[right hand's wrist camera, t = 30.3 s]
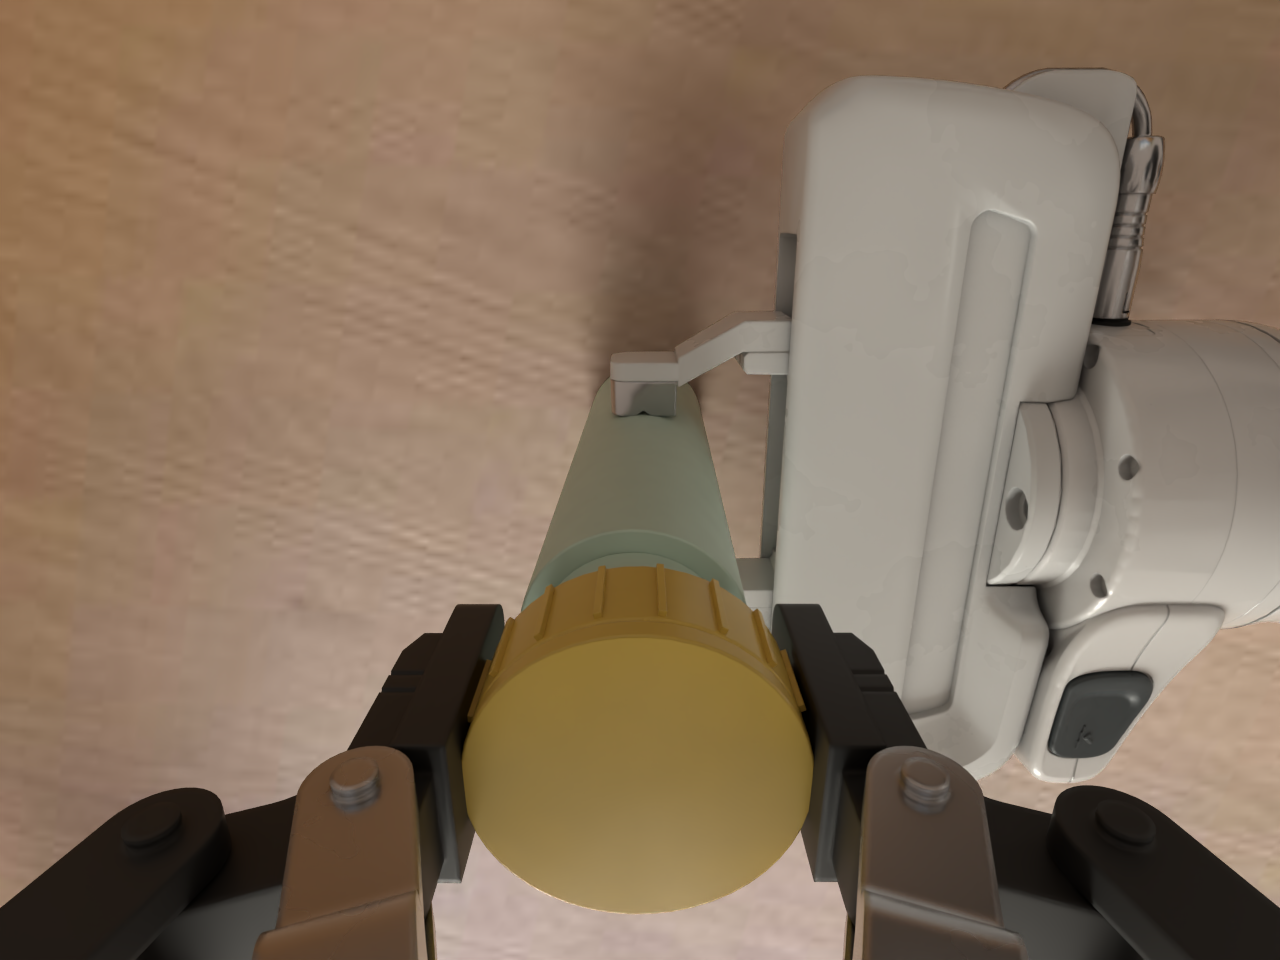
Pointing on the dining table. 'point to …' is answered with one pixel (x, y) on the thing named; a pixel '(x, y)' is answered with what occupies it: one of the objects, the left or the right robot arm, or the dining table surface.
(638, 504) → the jar
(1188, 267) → the dining table surface
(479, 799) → the lid
